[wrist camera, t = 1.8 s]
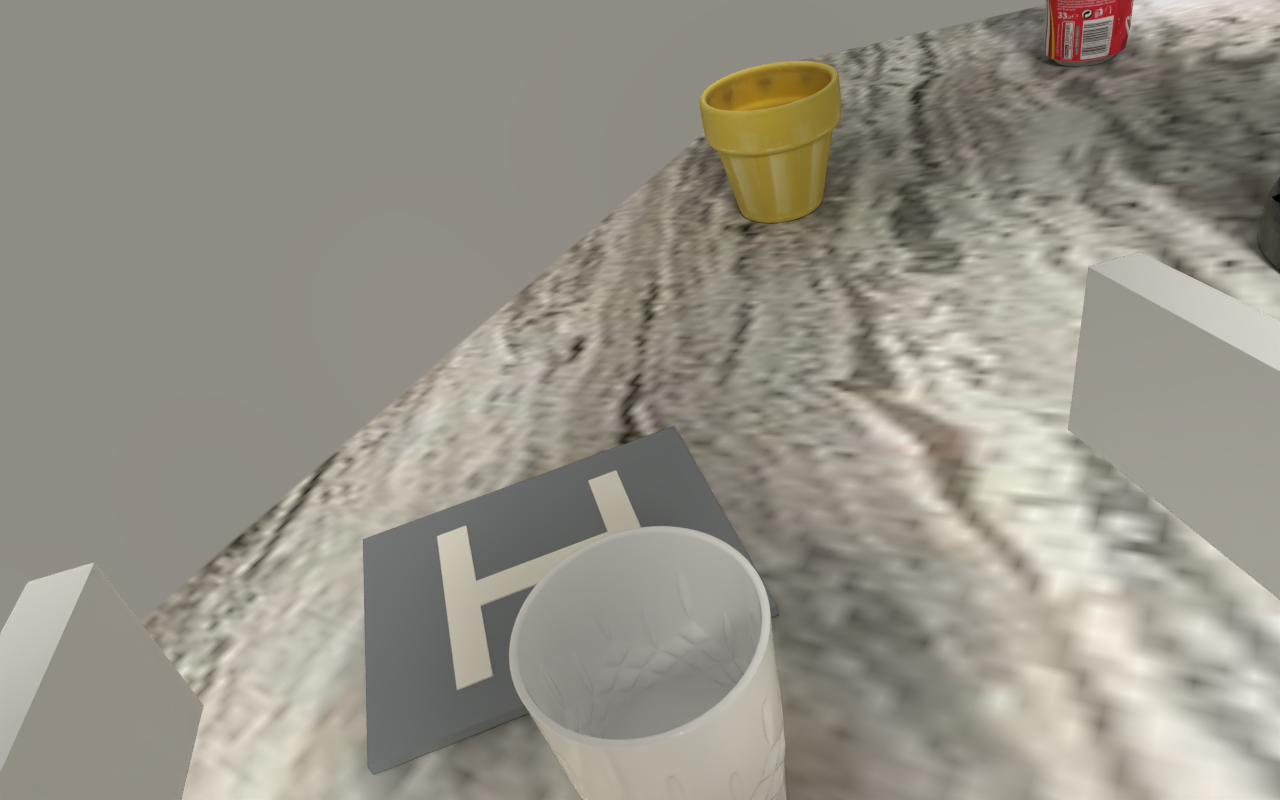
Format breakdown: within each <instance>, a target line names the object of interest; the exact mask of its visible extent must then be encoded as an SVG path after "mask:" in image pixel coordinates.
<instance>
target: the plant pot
mask: <svg viewBox="0 0 1280 800" xmlns="http://www.w3.org/2000/svg"><path fill="white" fill-rule="evenodd" d="M700 110H701V116H702V122H703V127H704V132H705V136H706V140H707V142H708V144H709V145H710V146H711V147H712V148H714V149H715V150H717V151H718V154H719V156H720V159H721V161H722V164H723V166H724V169H725V171H726V174H727V177H728V179H729V182H730V184H731V187H732V190H733V192H734V195H735V198H736V200H737V203H738V206H739V208H740V211H741V213H742V215H743V216H745V217H746V218H748V219H749V220H752V221H756V222H761V223H779V222H786V221H791V220H795V219H798V218H801V217H803V216H806V215H807V214H809V213H811V212H812V211H814V210H815V209H816V208H817V207H818V206H819V205H820V203H821V201H822V199H823V192H824V185H825V177H826V170H827V163H828V156H829V149H830V142H831V136H832V130H833V129H834V128H835V127H836V126H837V124H838V123H839V120H840V116H841V99H840V84H839V75H838V72H837V71H836V70H835V69H834V68H833V67H832V66H830V65H827V64H824V63H820V62H814V61H787V62H778V63H770V64H765V65H760V66H756V67H752V68H748V69H744V70H742V71H738V72H735V73H733V74H730V75H728V76H725V77H723V78H721V79H719V80H718V81H716V82H714V83H713V84H711V85H710V86H709V87H707V88H706V89H705V90H704V92H703V93H702V95H701V97H700Z"/></svg>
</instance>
